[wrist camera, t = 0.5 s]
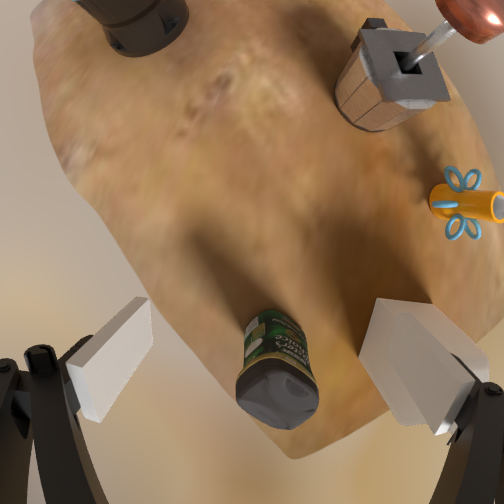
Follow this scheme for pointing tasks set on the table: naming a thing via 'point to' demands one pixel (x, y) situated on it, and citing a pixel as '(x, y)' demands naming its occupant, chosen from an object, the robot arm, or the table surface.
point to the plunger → (460, 26)
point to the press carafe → (386, 79)
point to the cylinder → (465, 203)
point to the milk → (382, 368)
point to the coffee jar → (276, 373)
